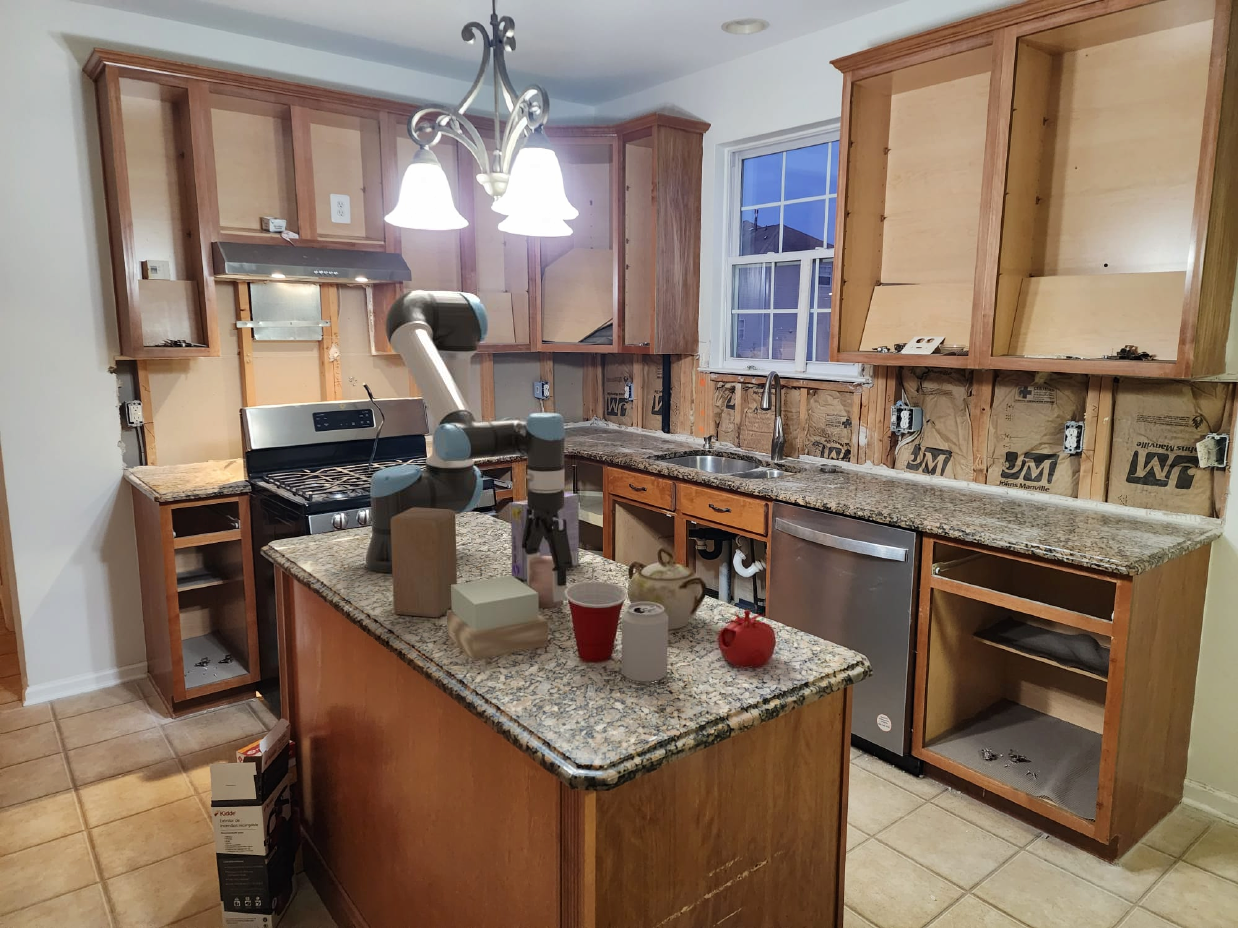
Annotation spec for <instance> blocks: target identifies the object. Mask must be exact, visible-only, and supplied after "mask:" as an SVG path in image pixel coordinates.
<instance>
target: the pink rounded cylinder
mask: <svg viewBox="0 0 1238 928" xmlns="http://www.w3.org/2000/svg"><path fill="white" fill-rule="evenodd" d="M554 567H555V566H554V563H553V559H552V556H538V557H534V558H531V559H530V560H529V585H528V587H530V588H531V589H533V590H534V591H536V592H537V593H538V605H539V608H541V609H543V608H545V609H547V608H554V607H559V606H561V605H563V603H564V600H561V601H556V602H554V601H553V571H552V569H553V568H554Z"/></svg>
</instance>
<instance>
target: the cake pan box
mask: <svg viewBox="0 0 1238 928" xmlns="http://www.w3.org/2000/svg"><path fill="white" fill-rule="evenodd" d="M579 498H580V497H579V494H577V493H564V507H563V508H562V509H560V510H559V511H558V517H559V519H566V522H567V535H568V541H569V547H570V553H571V558H572V564H573V567H577V566H579V564H580V561H579V560H580V559H579V558H580V557H579V555H580V553H579V552H580V550H579V549H580V546H579V541H580V540H579V539H580V537H579V533H580V531H579V526H580V525H579V522H580V521H579V520H580V519H579V516H580V515H579V513H580V512H579V511H580V510H579V508H580V507H579V502H580V500H579ZM527 508H528V506H527V499H526V500H520V501H514V502H510V531H511V532H510V533H511V534H510V536H511V538H510V539H511V575H512V576H513V577H515V578H516V579H518V580H520V581H524V582H525V581H527V554H526V552H525V548H524V549H523V548H522V540H523V535H524V529H525V524H526V518H527ZM527 542H528V541H527ZM539 548H540V550H539V551H540V552H536V553H539V554H540V556H551V552H550V548H549V545H548V541H547V540H545V539H544V536H543V539H542V541H541V544H540V546H539Z"/></svg>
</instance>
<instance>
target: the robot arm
mask: <svg viewBox="0 0 1238 928" xmlns="http://www.w3.org/2000/svg"><path fill="white" fill-rule="evenodd" d="M384 324H385V325H384V326H385V327H384V328H385V329H384V330H385V336H386V338H387V341H388V343H389V345H390V346H391V349H392V350H393V352H395V353H396V354H398V355H400V356H401V359H402V360H403V362H404V364H405V366H406V368H407V370H408V372H409V374H410V376H411V378H412V380H413V382H414V384H415V386H416V388H417V390H418V392H419V393H420V395H421V397H422V399H423V401H424V403H425V406H426V408H427V409H428V412H429V413H430V415H431V417H432V440H431V441H432V442H431V443H432V444H431V445H432V446H431V447H432V448H431V449H432V451H431V455H429V457H427V458H426V460H425V469H421V467H420V466H419V465H416V464H403V465H401V464H400V465H395V466H389V467H386V468H383V469H380V470H378V471H376V472H375V473H373V475H372V476H371V478H370V491H369V496H370V509H371V512H370V513H371V536H370V537H371V538H370V541H369V545H368V547H367V551H366V555H365V568H366V569H368V570H370V571H372V572H378V573H387V574H388V573H389V574H390V573H391V574H392V546H391V519H392V517H394V516H396V515H398V514H400V513H402V512H404V511H407V510H409V509H411V508H414V507H416V508H433V509H450V510H453V511H455V515H459V514H462V513H465V512H466V513H467V512H471V511H472V510H473V511H474V509H476V507H477V506H478V505H479V503H480V501H481V498H482V495H483V488H484V482H483V481H484V480H483V478H482V473H481V471H480V469H479V468H478V467H477V466H476V465H475V464H474V463H475V461H474V460H477V459H478V460H479V459H486V458H498V457H499V458H500V457H511V456H520V457H521V456H522V457H526V465H527V466H526V470H527V471H526V472H527V474H526V475H525V479H526V480H527V487H528V489H529V490H527V493H526V494H527V498H526V500H527V506H528V508H527V518H526V524H525V529H524V535H523V540H522V548H523V549H524V548H525V552H526V554H527V580H526V584H527V586H529V560H530V559H531V558H534V557H538V556H540V554H539V553H536V552H540V551H539V550H540V548H539V546H540V544H541V541H542V539H543V536H544V539H545V540H547V541H548V545H549V548H550V552H551V556H552V559H553V563H554V566H555V567H554V568H553V569H552V571H553V601H554V602H556V601H561V600H563V601H566V600H567V598H566V596H565V590H566V589H567V572H568V571H567V570H569V569H573V567H574V566H573V564H572V558H571V553H570V547H569V541H568V535H567V522H566V519H559V517H558V511H559V510H560V509H562V508H563V507H564V494H565V491H564V490H563V489H564V488H565V436H566V432H565V421H564V417H563V416H562V415H561V414H560V413H556V412H555V413H554V412H534V413H530V414H528V415H527V418H526V419H522V418H520V417H504V418H502V419H499V420H486V421H477V420H476V419H475V417H474V415H473V413H472V411H471V410H470V394H471V393H470V386H471V385H470V384H471V381H470V380H471V359H472V357H473V356H474V355H475V354H476V353H477V352H478V344H480V343H482V342H484V340H486V337H487V336H486V335H488V331H489V330H488V328H489V322H488V315H487V312H486V308H485V306H484V305H483V303H482V301H481V299H479V298H478V296H476V295H475V294H473V293H468V292H460V291H434V290H433V291H430V290H428V291H427V290H412V291H408V292H406V293H403V294H401V295H400V296H399V297H398V298H396V299H395V300H394V301H393V303H392V304H391V305H390V307H389V309H388V311H387V313H386V317H385V321H384ZM527 541H528V542H527Z"/></svg>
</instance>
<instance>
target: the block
mask: <svg viewBox="0 0 1238 928" xmlns="http://www.w3.org/2000/svg"><path fill="white" fill-rule="evenodd" d="M456 527H457V526H456V514H455V511H453V510H450V509H433V508H416V507H414V508H411V509H409V510H407V511H404V512H402V513H400V514H398V515H396V516H394V517H392V519H391V546H392V573H391V574H392V595H393V599H392V600H393V612H394V614H396V615H404V616H414V617H415V616H416V617H428V618H440V617H441V616H442V615H443V614H445V613H447V610H450V609H452V605H451V585H454V584H458V578H457V577H458V574H457V571H458V570H457V568H458V564H457V528H456Z"/></svg>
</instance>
